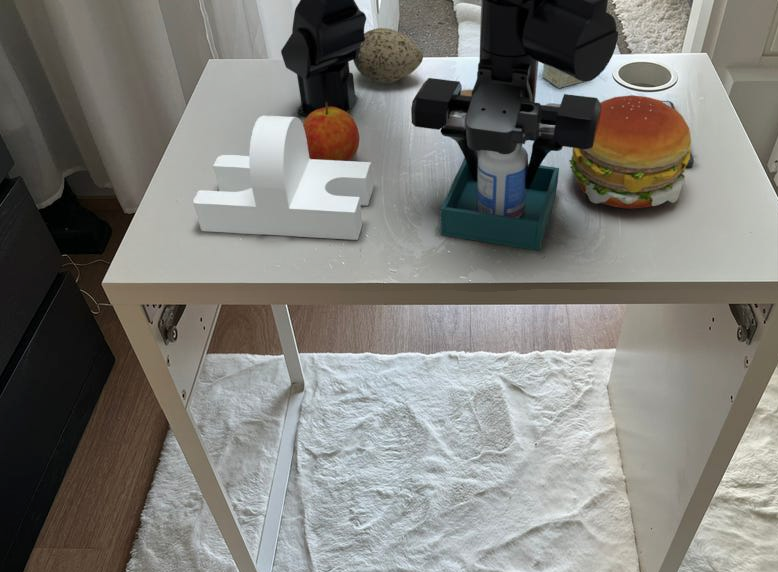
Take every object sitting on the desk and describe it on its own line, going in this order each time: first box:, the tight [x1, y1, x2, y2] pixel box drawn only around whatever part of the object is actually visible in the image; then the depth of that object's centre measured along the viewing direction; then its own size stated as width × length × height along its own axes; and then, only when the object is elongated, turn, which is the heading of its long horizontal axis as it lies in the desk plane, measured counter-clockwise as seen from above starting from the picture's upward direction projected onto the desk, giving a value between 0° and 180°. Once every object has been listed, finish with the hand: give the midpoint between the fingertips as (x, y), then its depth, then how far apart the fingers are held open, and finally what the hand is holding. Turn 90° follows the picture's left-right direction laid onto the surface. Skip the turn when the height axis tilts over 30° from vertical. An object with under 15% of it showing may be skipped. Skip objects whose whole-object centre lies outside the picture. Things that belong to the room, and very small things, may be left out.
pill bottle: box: [477, 143, 529, 218], centre depth 84 cm, size 6×5×10 cm
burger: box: [568, 94, 692, 210], centre depth 87 cm, size 13×14×10 cm
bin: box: [440, 157, 560, 251], centre depth 86 cm, size 11×11×4 cm
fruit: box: [302, 102, 360, 161], centre depth 92 cm, size 7×7×8 cm
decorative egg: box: [353, 27, 424, 84], centre depth 107 cm, size 7×7×10 cm
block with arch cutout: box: [192, 115, 374, 241], centre depth 85 cm, size 18×10×11 cm, turn 83°
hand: (501, 183), depth 85 cm, fingers closed on pill bottle, 5 cm apart
